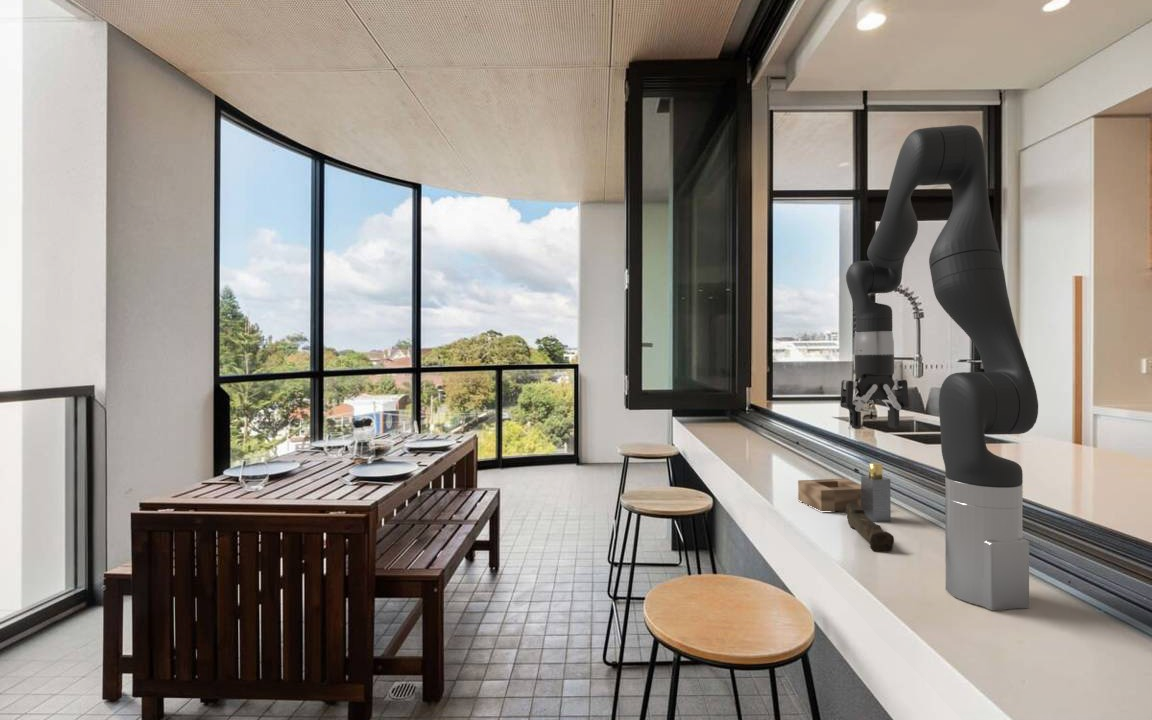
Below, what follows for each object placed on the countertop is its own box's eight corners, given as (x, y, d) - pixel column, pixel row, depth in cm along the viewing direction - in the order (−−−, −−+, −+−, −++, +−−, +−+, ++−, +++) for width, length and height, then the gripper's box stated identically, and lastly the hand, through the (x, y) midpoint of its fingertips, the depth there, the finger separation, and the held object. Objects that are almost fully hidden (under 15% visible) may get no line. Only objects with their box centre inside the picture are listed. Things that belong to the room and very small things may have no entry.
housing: (870, 510, 126) (870, 488, 126) (821, 512, 125) (821, 490, 125) (844, 498, 136) (844, 478, 136) (798, 500, 135) (798, 480, 135)
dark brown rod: (894, 554, 100) (894, 529, 100) (870, 553, 101) (870, 527, 100) (862, 522, 118) (862, 501, 118) (842, 521, 119) (842, 500, 119)
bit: (890, 521, 118) (890, 465, 118) (873, 522, 118) (872, 465, 118) (878, 515, 122) (878, 461, 122) (861, 516, 122) (861, 462, 122)
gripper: (854, 353, 115) (854, 431, 115) (916, 352, 117) (917, 429, 117) (833, 353, 122) (833, 426, 122) (892, 352, 124) (893, 425, 124)
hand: (874, 428), depth 120 cm, fingers open, 8 cm apart
